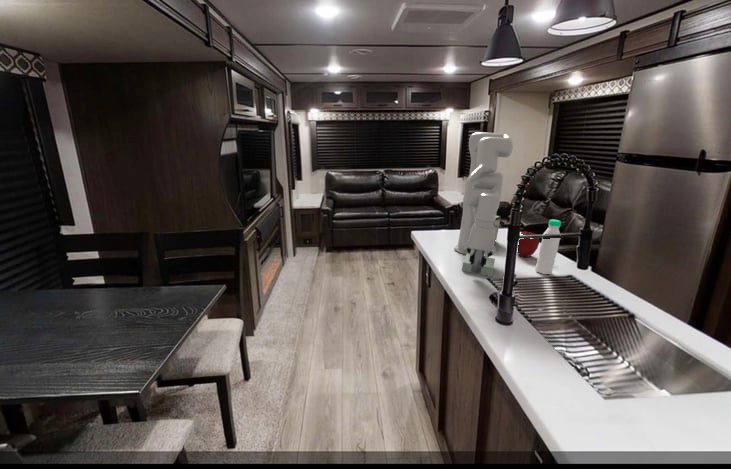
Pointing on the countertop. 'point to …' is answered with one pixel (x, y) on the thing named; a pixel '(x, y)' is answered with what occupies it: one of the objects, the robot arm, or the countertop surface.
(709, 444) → the countertop surface
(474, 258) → the peg
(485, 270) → the socket block
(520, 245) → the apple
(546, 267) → the water bottle
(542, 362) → the countertop surface
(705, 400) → the countertop surface
